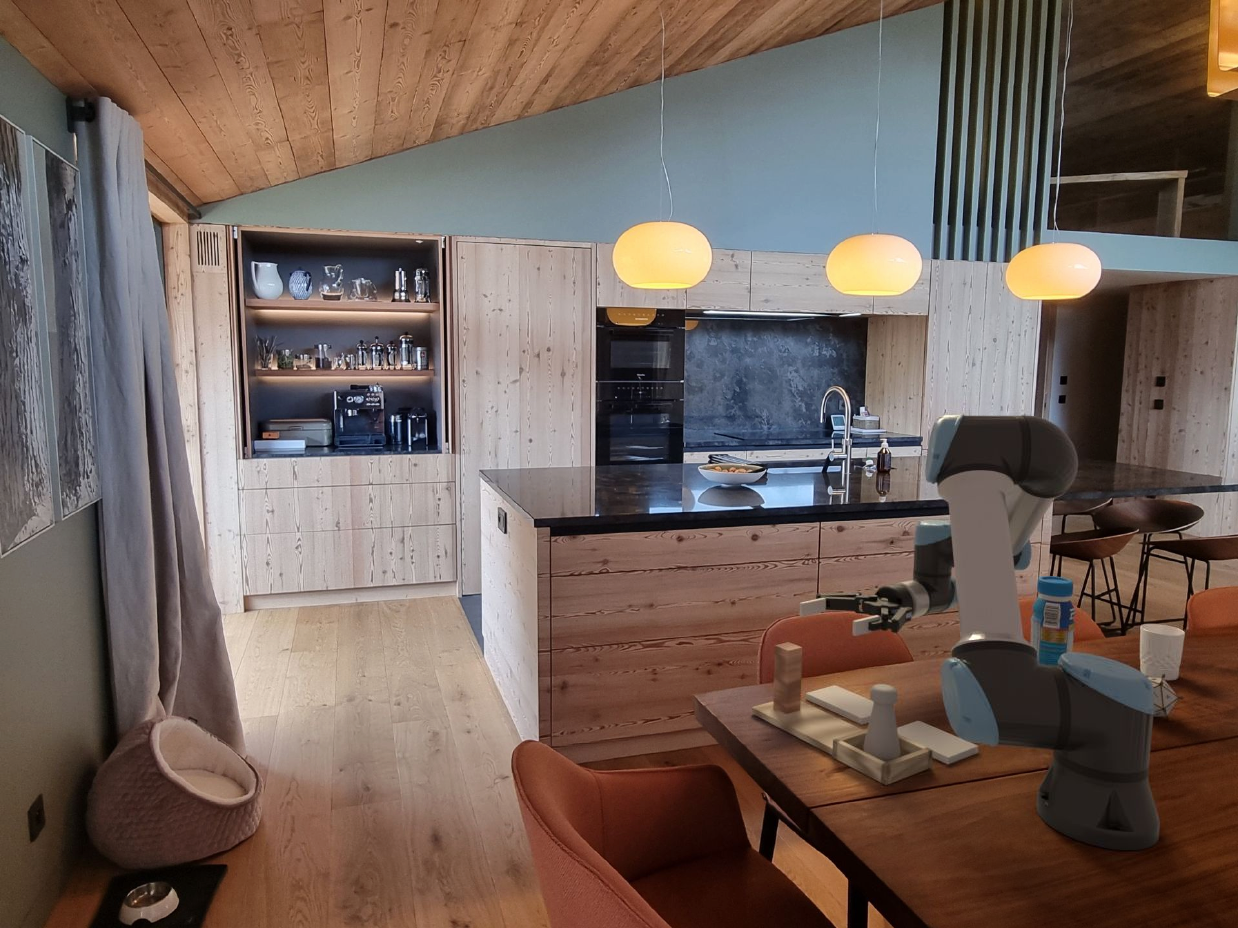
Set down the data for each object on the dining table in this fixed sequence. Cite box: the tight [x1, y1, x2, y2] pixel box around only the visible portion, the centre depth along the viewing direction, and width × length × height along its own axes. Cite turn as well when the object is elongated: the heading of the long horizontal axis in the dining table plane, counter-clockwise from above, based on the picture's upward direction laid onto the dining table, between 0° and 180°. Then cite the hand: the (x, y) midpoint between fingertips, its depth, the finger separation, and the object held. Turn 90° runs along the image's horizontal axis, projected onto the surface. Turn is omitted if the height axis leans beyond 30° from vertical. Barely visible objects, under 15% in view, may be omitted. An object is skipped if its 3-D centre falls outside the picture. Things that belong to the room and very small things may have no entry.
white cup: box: [1139, 623, 1186, 681], centre depth 174 cm, size 8×8×10 cm
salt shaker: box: [863, 683, 901, 762], centre depth 134 cm, size 6×6×13 cm
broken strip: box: [805, 684, 979, 765], centre depth 149 cm, size 32×8×1 cm, turn 32°
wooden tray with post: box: [751, 641, 933, 786], centre depth 142 cm, size 32×11×13 cm, turn 32°
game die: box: [1147, 674, 1185, 722], centre depth 153 cm, size 9×8×10 cm
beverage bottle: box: [1029, 575, 1076, 665], centre depth 177 cm, size 8×8×20 cm
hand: (826, 618), depth 156 cm, fingers open, 13 cm apart
